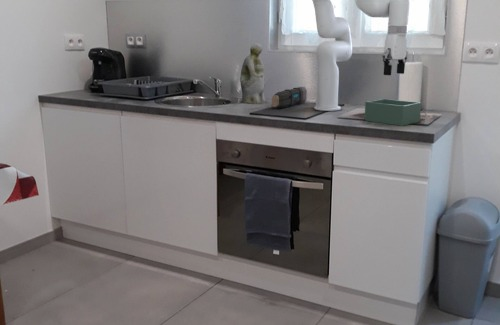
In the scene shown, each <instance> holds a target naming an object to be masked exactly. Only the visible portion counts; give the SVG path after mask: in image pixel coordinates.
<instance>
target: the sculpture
mask: <svg viewBox="0 0 500 325" xmlns="http://www.w3.org/2000/svg"><path fill="white" fill-rule="evenodd" d="M249 51H250V53H249V55H247V56H246V57H245V58H244V60H243V63H242V66H241V70H240V77H239V82H240V89H241V95H242V97H241V103H244V104H252V105H253V104H254V105H259V104H265V103H266V98H265V93H264V92H265V87H266V77H265V67H264V63H263V61H262V58H261V57H260V55H261V53H262V52H263V46H262V45H261V44H260V43H257V42H255V43H253V44H252V45H251V46H250V48H249Z"/></svg>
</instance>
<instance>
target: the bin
mask: <svg viewBox="0 0 500 325" xmlns="http://www.w3.org/2000/svg"><path fill="white" fill-rule="evenodd" d="M421 109H422V102H417V101H409V100H399V99H391V98H389V99H388V98H380V99H375V100H369V101H365V104H364V121H366V122H373V123H380V124H387V125H393V126H401V127H404V126H408V125H412V124H415V123H421V122H420V121H421Z"/></svg>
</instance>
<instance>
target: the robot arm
mask: <svg viewBox="0 0 500 325" xmlns="http://www.w3.org/2000/svg"><path fill="white" fill-rule="evenodd" d="M311 1H312V4H313V8H314V15H315V22H316V30H317V35H318V36H319V37H320V38H322V39H334V40H324V41H322V42H321V43H319V44H318V45H317V47H316V58H317V70H318V71H317V73H318V74H317V75H318V76H317V98H314V99H313V100H311V104H314V105H315V106H314V107H313V109H314V110H316V111H322V112H337V111H341V110H342V106H340V105H339V82H340V70H339V66H338V64H337V62H347V61H349V60H350V59H351V57H352V55H353V41H352V33H351V26H350V23H349V21H348V20H347V19H346V18H344V17H342V16H341V17H340V16H336V15H335V10H334V9H335V8H334V5H333V3H332V1H331V0H311ZM354 1H355V6H356V7H357V8H358V9H359V10H360V11H361V12H362V13H363V14H365V15H366V16H368V17H371V18H386V19H387V18H388V20H387V34H386V37H385V40H384V45H383V46H384V47H383V52H382V54H381V57H382V63H383V75H384V76H391V75H392V70H393V65H392V64H393V61H397V64H396V74H401V75H403V74H405V67H406V63H407V60H408V55H409V52H408V51H407V49H408V48H407V47H408V46H407V45H408V44H407V43H408V42H407V41H408V40H407V38H408V37H407V35H408V26H409V16H410V15H409V14H410V0H354Z"/></svg>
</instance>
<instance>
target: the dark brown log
mask: <svg viewBox="0 0 500 325" xmlns="http://www.w3.org/2000/svg"><path fill="white" fill-rule="evenodd" d="M307 92H308V90H307V89H306V87H305V86H297V87H293V88H291V89H288V88H286V89H284V90H282V91H277V92H276V93H274V94H273V95H272V97H271V106H272V108H277V109H278V108H279V109H282V108H290V107H293V106H294V105H300V104H304V103H306V101H307V96H308V95H307V94H308V93H307Z"/></svg>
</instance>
